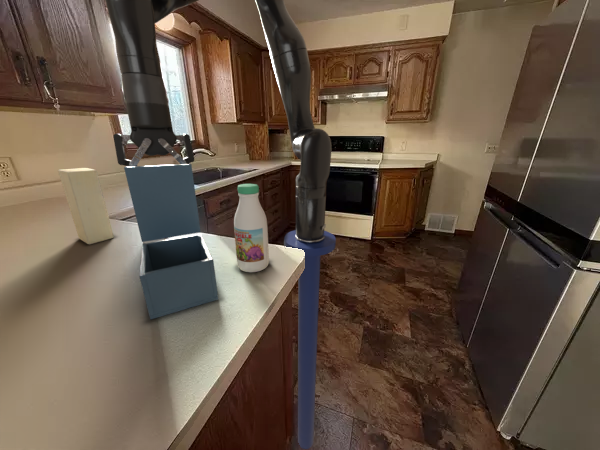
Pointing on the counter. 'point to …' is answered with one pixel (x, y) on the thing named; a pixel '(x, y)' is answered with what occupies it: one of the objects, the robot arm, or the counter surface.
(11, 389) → the counter surface
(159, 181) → the freezer lid
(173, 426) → the counter surface
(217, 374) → the counter surface
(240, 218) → the milk bottle
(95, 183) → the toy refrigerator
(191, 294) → the box
